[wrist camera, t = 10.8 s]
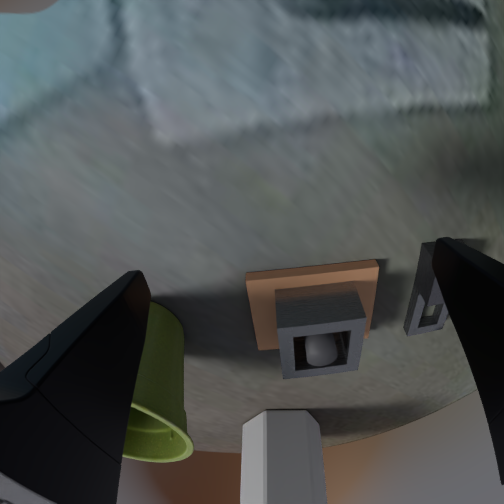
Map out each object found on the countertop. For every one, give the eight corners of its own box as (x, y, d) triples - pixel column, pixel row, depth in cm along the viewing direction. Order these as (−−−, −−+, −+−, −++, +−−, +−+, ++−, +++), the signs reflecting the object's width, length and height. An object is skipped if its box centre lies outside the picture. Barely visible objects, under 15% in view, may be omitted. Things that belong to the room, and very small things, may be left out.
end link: (353, 280, 23) (366, 317, 20) (348, 333, 26) (357, 369, 23) (274, 289, 24) (276, 328, 20) (280, 341, 27) (283, 379, 23)
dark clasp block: (461, 238, 22) (478, 259, 19) (437, 320, 27) (448, 342, 25) (421, 243, 22) (437, 265, 20) (403, 327, 27) (412, 350, 25)
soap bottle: (242, 436, 40) (237, 573, 22) (243, 408, 35) (237, 578, 17) (312, 435, 40) (321, 570, 22) (326, 407, 35) (342, 571, 17)
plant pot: (231, 308, 26) (220, 433, 17) (185, 376, 32) (169, 471, 22) (98, 252, 23) (32, 360, 14) (83, 335, 29) (45, 424, 20)
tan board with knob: (375, 259, 23) (398, 307, 19) (365, 330, 27) (380, 377, 23) (246, 272, 24) (243, 325, 19) (258, 342, 28) (258, 392, 24)
